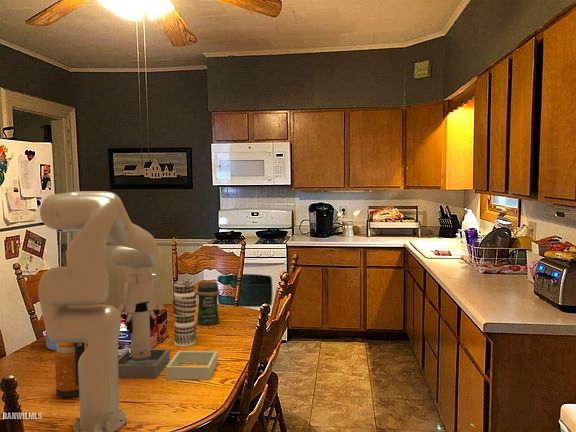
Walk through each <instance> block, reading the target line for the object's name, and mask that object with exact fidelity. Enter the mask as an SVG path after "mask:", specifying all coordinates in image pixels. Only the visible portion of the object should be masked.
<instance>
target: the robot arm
mask: <svg viewBox="0 0 576 432" xmlns="http://www.w3.org/2000/svg"><path fill="white" fill-rule="evenodd" d="M39 215H40V218H41V222H42V223H43V224H44V225H45V226H46V227H47V228H49V229H52V230H80V231H79V232H77V234H76V235H75V236H74V238H73V239H72V240H71V241H70V242H69V244H68V246H67V249H66V251H65V258H66V263H67V266H56V267H52V268H49V269H47V270H45V272H43V274H41V275H42V276H41V277H40V279H39V284H38V290H37V291H38V292H37V293H38V300H39V304H40V309H41V313H42V317H43V323H44V327H45V332H46V331H47V334H48V336H49V338H50V339H51V340H52V341H54V342H57V343H87V344H86V345H87V346H86V347H87V348H86V350H85V351H84V352H83V353H82V354H81V356H80V358H79V361H78V374H79V395H78V400H79V402H78V403H79V418H77V419H76V420H75V421H74V423H73V432H116V431H119V430H120V429H121V428H122V427H123V426H124V425H125V423H126V422H127V414H126V413H125V411H123V410H121V409H120V378H119V372H118V358H119V338H120V332H121V324H122V319H123V320H124V321H125V323H126V326H125V327H126V331H127V332H128V334H130V335H131V333H132V322H131V317H132V314H133V313H134V312H135V310H136V309H135V308H136V304H140V303H145V302H147V301H149V303H146V304H147V307H148V308H147V309H148V311H149V312H150V331H154V327H155V325H156V323H155V322H156V321H155V320H156V318H157V315H159V313H161V311H162V310H163V308H164V307H165V305H164V304H163V303H162V302H161V301H159V300H158V298H156V289H155V285H154V280H152V279H155V278H156V273H152V268H153V267H156V266H158V263H159V261H160V250H159V246H158V244H157V241H156V239H155V238H154V235H152V234H151V233H150V232H149V231H147V230H146V229H145V228H142V227H141V226H139V225H137V224H135V223H133V222H132V221H131V219H130V217H129V215H128V212H127V210H126V208H125V206H124V203H123V201H122V199H121V197H120V196H119V195H118V194H116V193H115V192H111V191H105V190H104V191H103V190H100V191H99V190H95V191H91V190H87V191H85V190H84V191H83V190H82V191H81V190H80V191H70V192H64V193H54V194H50V195H48V196H47V197H46V198H45V199H44V200H43V201H42V203H41V204H40V208H39ZM107 242H109V243H111V244H114V245H117V246H115V247H114V248H113V250H112V252H111V255H110V258H111V259H110V260H111V262H112V264H113V265H114V266H115V267H116V268H121V269H127V272H126V274H127V282H125V283H124V289H123V302H122V303H121V305H119V306H118V307H115V306H113V305H110V304H104V302H106V300H108V299H109V295H110V281H109V280H110V279H109V272H108V266H107V259H106V250H105V249H106V244H107ZM102 303H103V304H102ZM123 310H124V311H125V313H126V314H125V313H124V312H122V311H123Z"/></svg>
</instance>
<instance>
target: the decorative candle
mask: <svg viewBox="0 0 576 432" xmlns="http://www.w3.org/2000/svg"><path fill="white" fill-rule="evenodd" d="M173 286H174V292H173V297H172V301H173V302H172V305H174V306H173V308H172V309H173V311H172V312H173V315H174V319H175V320H174V325H173V328H174V330H173V332H174V334H173V337H174V338H173V341H174V342H173V343H174V345H175V346H179V347H188V346H192V345H195V344H196V343H197V332H196V330H197V328H196V327H197V324H196V319H195V317H196V315H195V314H196V313H197V310H196V309H195V308H196V307H197V304H196V303H197V301H196V298H197V294H196V293H197V292H195V282H194V281H193V280H191V279H190V278H189V279H187V278H186V279H185V278H182V279H178V280H177V281H176V282H175V283H174V284H173Z"/></svg>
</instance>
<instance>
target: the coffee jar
mask: <svg viewBox="0 0 576 432" xmlns="http://www.w3.org/2000/svg"><path fill="white" fill-rule="evenodd" d="M218 284H219V283H218V282H216V281H215V282H200V283H198V286H197V291H196V293H197V296H198V307H197V308H198V310H197V317H196V318H197V324H198V325H199V326H207V325H208V326H209V325H210V326H211V325H216V324H218V323H219V322H220V319H219V317H220V316H219V306H218V296H219V291H220V290H219V285H218Z"/></svg>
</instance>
